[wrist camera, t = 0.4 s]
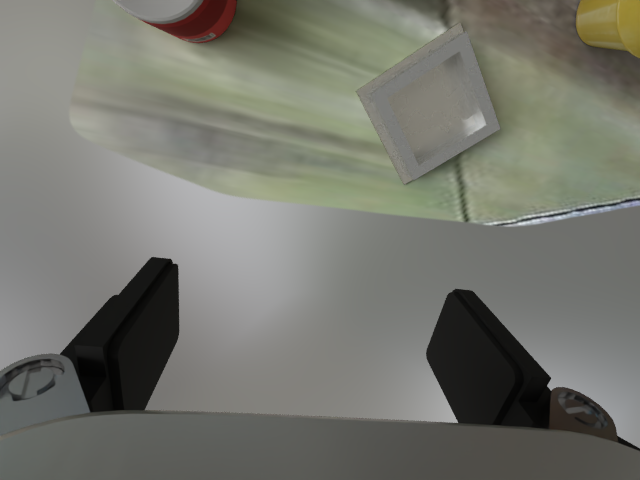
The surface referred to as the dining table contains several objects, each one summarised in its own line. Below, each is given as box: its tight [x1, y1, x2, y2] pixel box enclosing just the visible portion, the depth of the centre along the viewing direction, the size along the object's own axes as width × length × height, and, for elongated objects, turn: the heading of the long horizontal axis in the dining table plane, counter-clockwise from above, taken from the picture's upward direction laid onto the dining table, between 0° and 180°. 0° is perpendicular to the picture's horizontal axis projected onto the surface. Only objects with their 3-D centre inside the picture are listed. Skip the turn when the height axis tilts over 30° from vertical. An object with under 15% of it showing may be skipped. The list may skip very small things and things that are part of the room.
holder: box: [356, 23, 500, 185], centre depth 35 cm, size 12×12×3 cm
